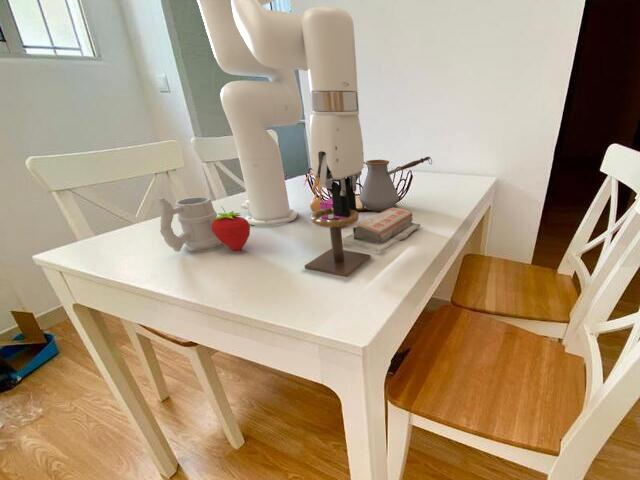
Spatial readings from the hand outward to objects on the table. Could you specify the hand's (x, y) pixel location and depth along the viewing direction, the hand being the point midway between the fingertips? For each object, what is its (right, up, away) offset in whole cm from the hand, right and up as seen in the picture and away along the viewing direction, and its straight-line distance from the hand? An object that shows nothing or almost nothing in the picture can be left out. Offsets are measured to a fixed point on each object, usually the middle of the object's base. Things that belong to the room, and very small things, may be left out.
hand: (345, 213), depth 64 cm
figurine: (-13, +6, +32) cm, 35 cm away
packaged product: (+6, -3, +15) cm, 16 cm away
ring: (-1, -1, -3) cm, 3 cm away
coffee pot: (+8, +8, +34) cm, 36 cm away
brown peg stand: (-1, -10, +1) cm, 10 cm away
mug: (-33, -6, +8) cm, 34 cm away
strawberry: (-24, -7, +7) cm, 26 cm away
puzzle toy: (-6, +2, +23) cm, 24 cm away
